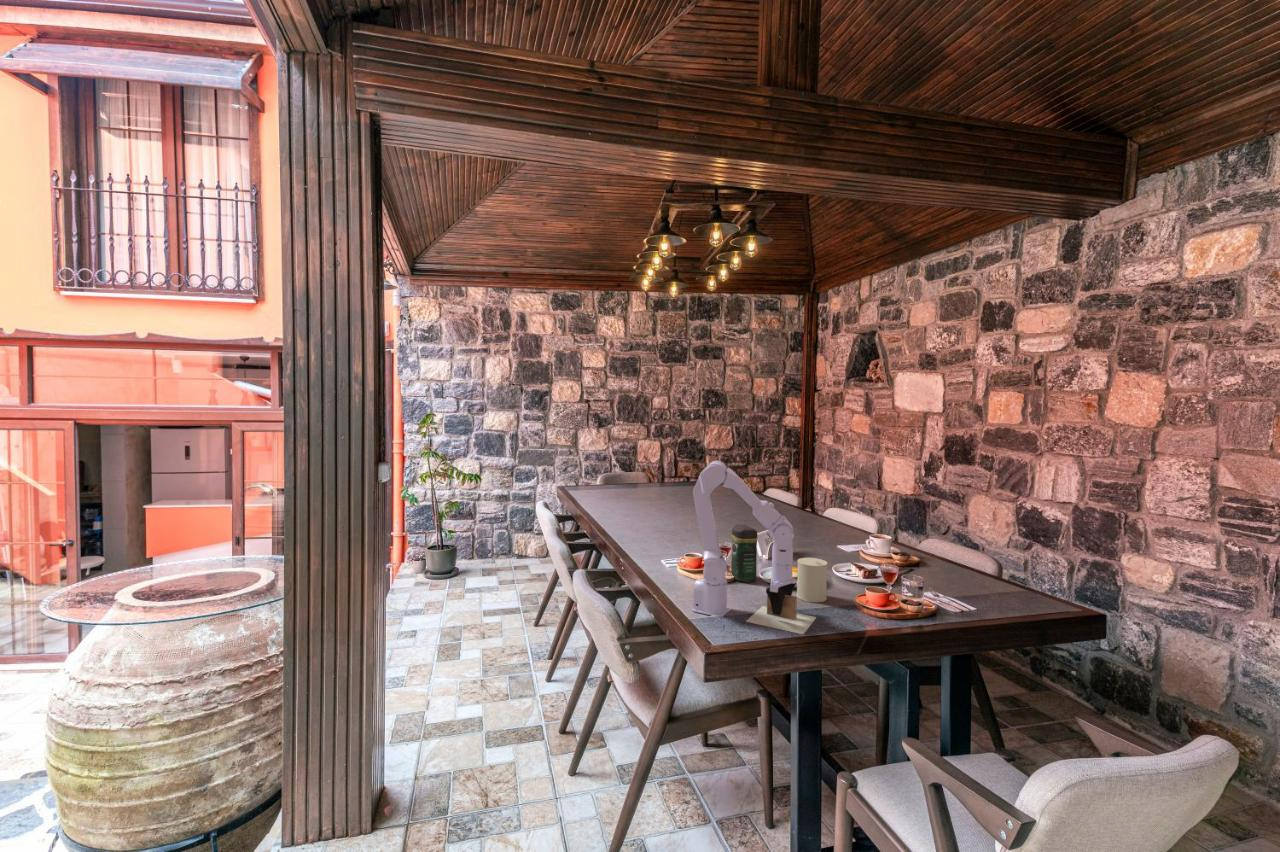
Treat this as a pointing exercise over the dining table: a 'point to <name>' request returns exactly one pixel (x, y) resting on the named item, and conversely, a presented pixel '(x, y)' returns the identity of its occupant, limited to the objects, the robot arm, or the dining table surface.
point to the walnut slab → (785, 607)
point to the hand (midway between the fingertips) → (780, 609)
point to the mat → (782, 621)
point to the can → (812, 579)
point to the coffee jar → (744, 553)
